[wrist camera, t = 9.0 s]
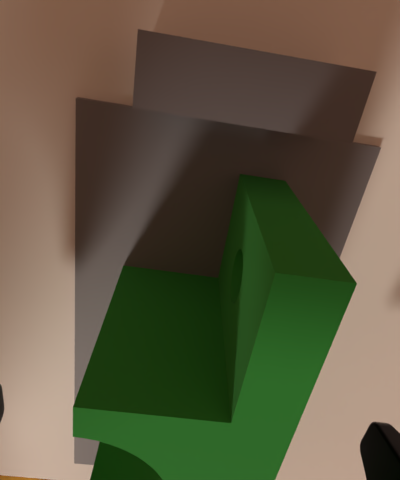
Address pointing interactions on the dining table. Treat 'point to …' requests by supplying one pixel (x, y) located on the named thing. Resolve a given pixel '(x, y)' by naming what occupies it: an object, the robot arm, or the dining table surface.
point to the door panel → (190, 190)
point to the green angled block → (216, 351)
